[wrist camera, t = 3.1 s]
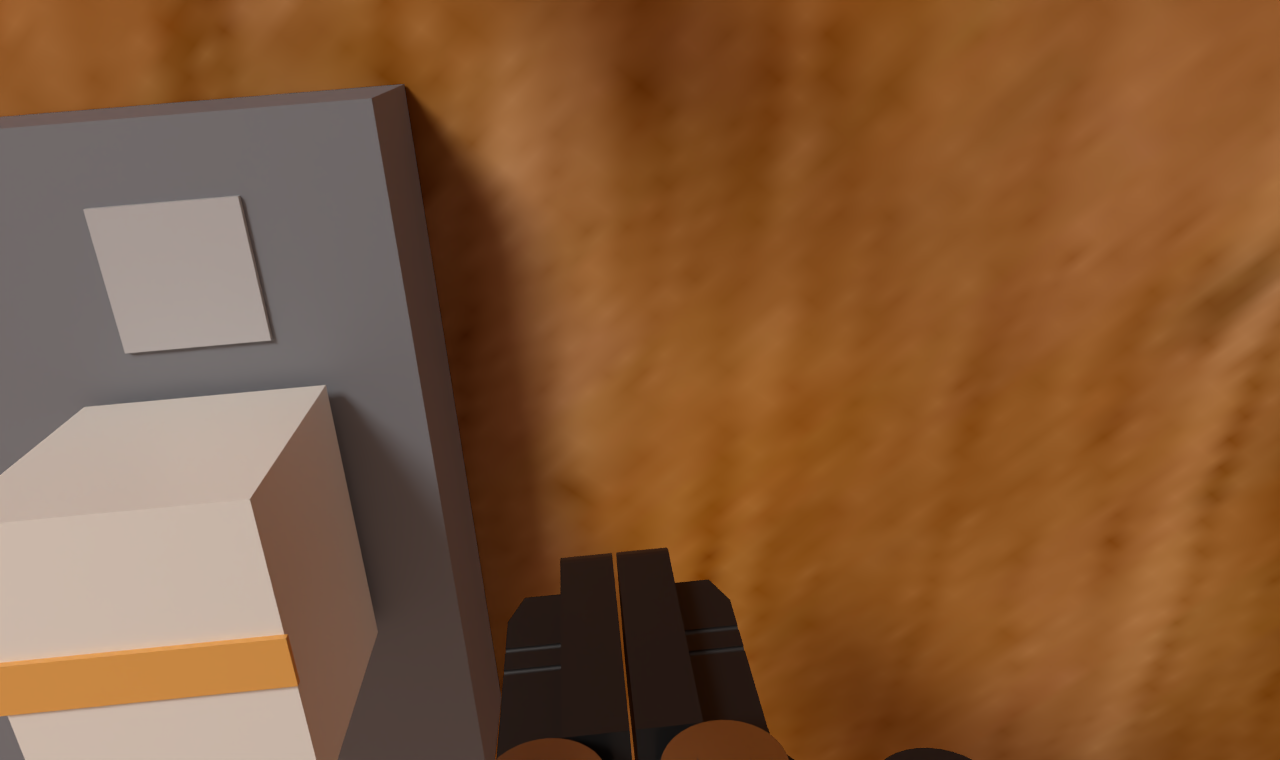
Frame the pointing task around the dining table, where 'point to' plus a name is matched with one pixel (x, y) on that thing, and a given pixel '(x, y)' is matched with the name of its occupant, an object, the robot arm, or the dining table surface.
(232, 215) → the fader console
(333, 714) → the fader knob
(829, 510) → the dining table surface
